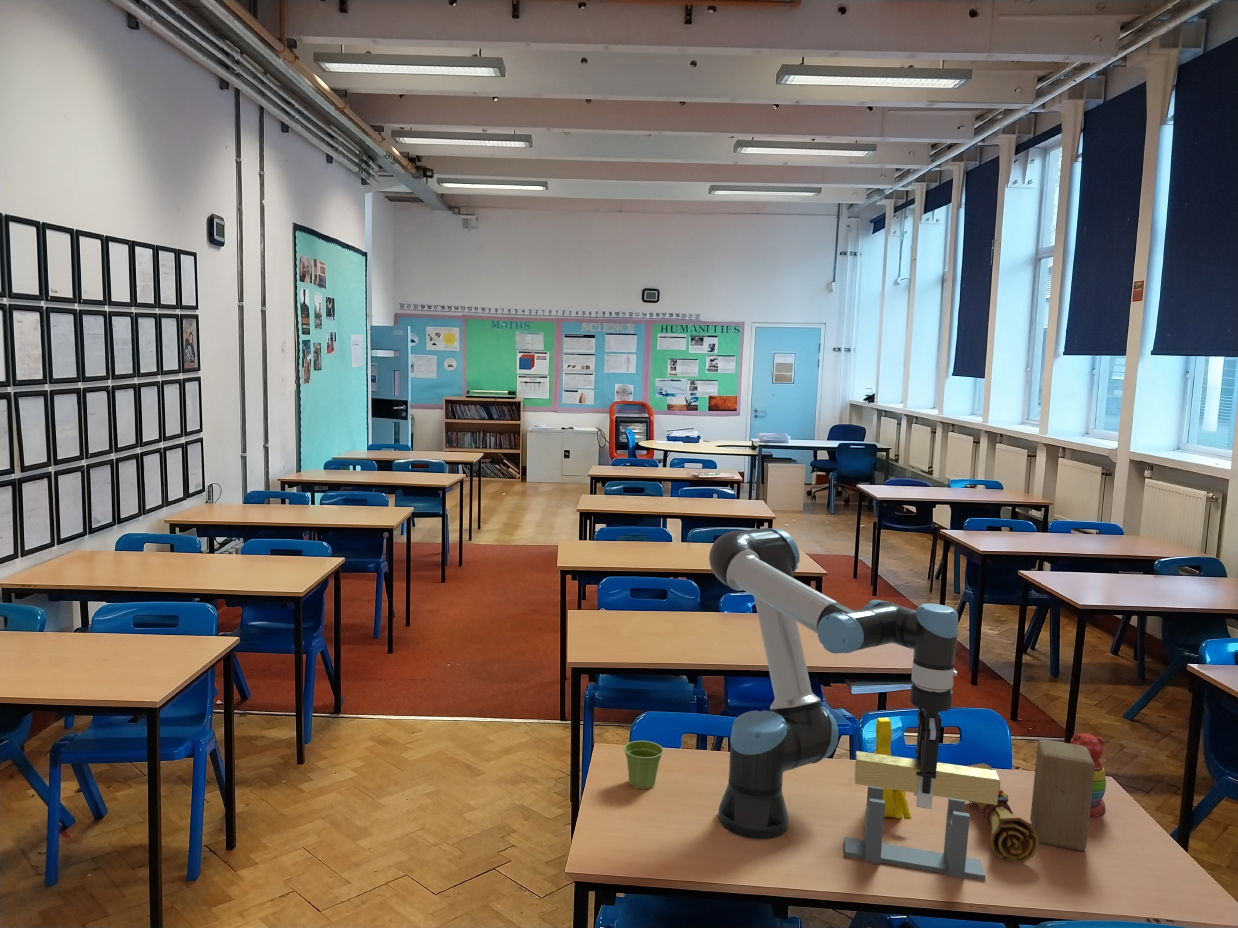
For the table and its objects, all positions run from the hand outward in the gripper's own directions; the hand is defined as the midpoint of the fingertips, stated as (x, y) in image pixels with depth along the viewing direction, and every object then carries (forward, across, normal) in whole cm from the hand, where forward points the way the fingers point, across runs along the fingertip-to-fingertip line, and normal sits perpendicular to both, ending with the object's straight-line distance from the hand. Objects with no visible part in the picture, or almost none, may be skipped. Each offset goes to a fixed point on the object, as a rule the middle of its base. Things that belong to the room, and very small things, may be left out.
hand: (922, 800), depth 166 cm
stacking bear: (+17, +44, -41) cm, 62 cm away
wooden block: (+17, +27, -32) cm, 45 cm away
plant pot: (+16, +21, +60) cm, 66 cm away
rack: (+16, +7, 0) cm, 18 cm away
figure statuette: (+16, +26, +4) cm, 31 cm away
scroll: (+17, +25, -19) cm, 36 cm away
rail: (-2, 0, 0) cm, 2 cm away
